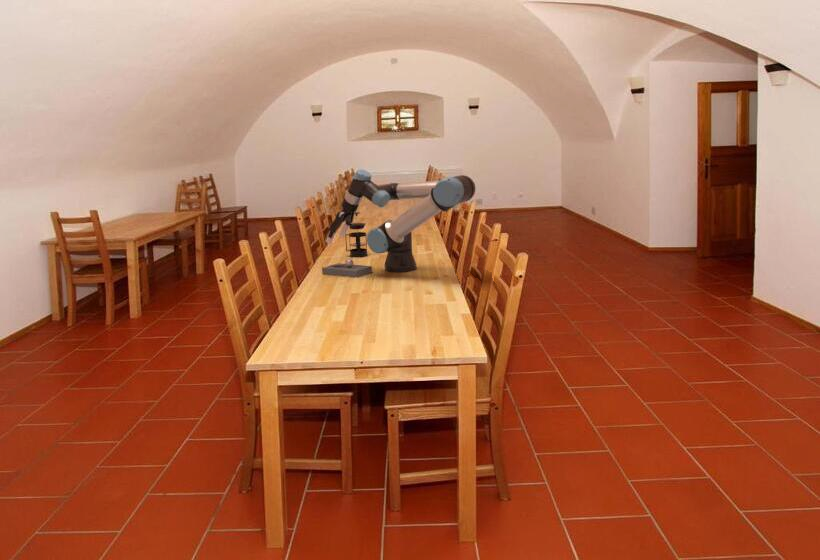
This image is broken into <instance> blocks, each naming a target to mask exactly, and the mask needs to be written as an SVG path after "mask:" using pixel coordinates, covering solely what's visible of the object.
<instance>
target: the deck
mask: <svg viewBox="0 0 820 560" xmlns="http://www.w3.org/2000/svg"><path fill="white" fill-rule="evenodd" d="M372 267H373V266H371V265H362V264H353V266H352V267H347V266H346V265H345V263H341V262H339V263H338V262H337V263H334V264H331V265H327V266H324V267H322V268H321V274H322V275H326V274H328V275H329V276H336V275H340V276H339V277H345V276H350V277H349V278H355V277H357V278H360V277H362V276H366V275H369V274H372V273H373V268H372ZM328 275H327V276H328ZM359 276H360V277H359Z"/></svg>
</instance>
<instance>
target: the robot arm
mask: <svg viewBox="0 0 820 560" xmlns="http://www.w3.org/2000/svg"><path fill="white" fill-rule="evenodd" d="M475 194H476V183H475V182H474V181H473V179H472V178H471V177H469V176H468V175H464V174H461V175H456V176H448V177H447V176H446V177H444V178H441V179H440V180H431V181H412V182H399V183H398V182H391V183H387V184H382V185H377V184H376V183H374V182H373V181H372V174H371V173H370V172H369V171H367V170H365V169H362V168H361V169H357V170H356V171H355V173H354V175H353V177H352V179H351V182H350V184H349V186H348V188H347V190H346V191H345V195H344V198H343V200H342V202H341V208H342V210H340V211H338V213H337V215H336V217H335V219H334V220H333V221H332V223H331V224H330V226H329V227H328V231H329V232H328V235H327V237H326V239H325V243H327V244H328V245H331V244H332V242H333V240H334V239H335V238H334V237H335V235H336V232H337V230H338V229H339V227H340V226H341V225H342V226H341V228H340V231H339V233H338V235H339V236H341V237H342V238H345V235H346V234H347V232H348V229H349V228H350V227H349V225H350V226H351V225H352V223H354V219H355V218H354V217H355V215H356V214H355V212H357V210H358V208H359V205H360V204H361V202H362V200H363V197H364V198H366V199H367V200H368V201H370V202H371V203H372V204H373V205H375V206H377V207H378V208H384V207H385V206H387V204H389V201H394V200H395V201H396V200H397V201H401V200H415V199H416V200H417V199H418V200H419V199H420V201H419V202H417V203H415V205H413V206H412V207H410V208H409V209H407V210H406V211H405V212H403V213H402V214H401V215H399V216H398V217H396V218H395V219H393V220H392V219H388V220H386V221H385V222H383V223H381V224H380V225H378V226H377V227H373V228H372V229H369V231H368V232H367V233H366V240H367V247H368V248H369V249H370V250H371V251H372V252H373V253H375V254H385V253H387V255H386V257H385V263H384V266H383V267H384V270H385V271H386V272H392V273H393V272H395V273H399V272H400V273H403V272H404V273H405V272H410V271H414V270H416V269H417V263H416V260H415V257H414V254H413V245H412V243H413V241H412V239H413V238H412V232H413V231H414V230H416V229H417V228H419V227H420V226H422V225H424V223H426V222H427V221H429V220H430V219H432V218H433V217H434V216H436V215H438V214H439V213H441V212H444V213H447V212H448V211H450V210H451V209H453V208H454V207H456V206H457V205H460V204H463V203H466V202H469V201H471V199H472V198H473V197H474V196H475ZM421 199H422V200H421ZM343 222H344V223H343ZM342 223H343V224H342Z"/></svg>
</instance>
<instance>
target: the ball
mask: <svg viewBox="0 0 820 560" xmlns="http://www.w3.org/2000/svg"><path fill="white" fill-rule="evenodd" d="M344 264H345V265H346V266H347V267H352V266H353V265H354V261H353V259H352V258H347V259H345V260H344Z"/></svg>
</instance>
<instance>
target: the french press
mask: <svg viewBox="0 0 820 560" xmlns="http://www.w3.org/2000/svg"><path fill="white" fill-rule="evenodd" d="M358 214H361V212H358V211H356V212H355V214H354V215H355V218H356V221H358ZM351 224H352V225H351V226H350V225H349V227H348V228H349V229H350V230H356V231H355V232H350V233H348V234H347V233H346V234H345V236H344V238H345V239H347V236H348V238H349V247H356V248H349V249H348V244H347V243H348V242H347V240H345V250H346V252H349V257H350V258H353V257H360V258H366V257H368V256H369V255H368V244H367V239H365V242H361V238H363V237H367V232H365V231H364V232H363V231H359V230H363V229H364V228H365V226H366V222H365V223H364V222H352V223H351ZM351 238H355V242H353V243H351ZM363 246H364V247H363ZM365 246H366V247H365ZM362 247H363V248H362ZM365 256H366V257H365Z"/></svg>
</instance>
